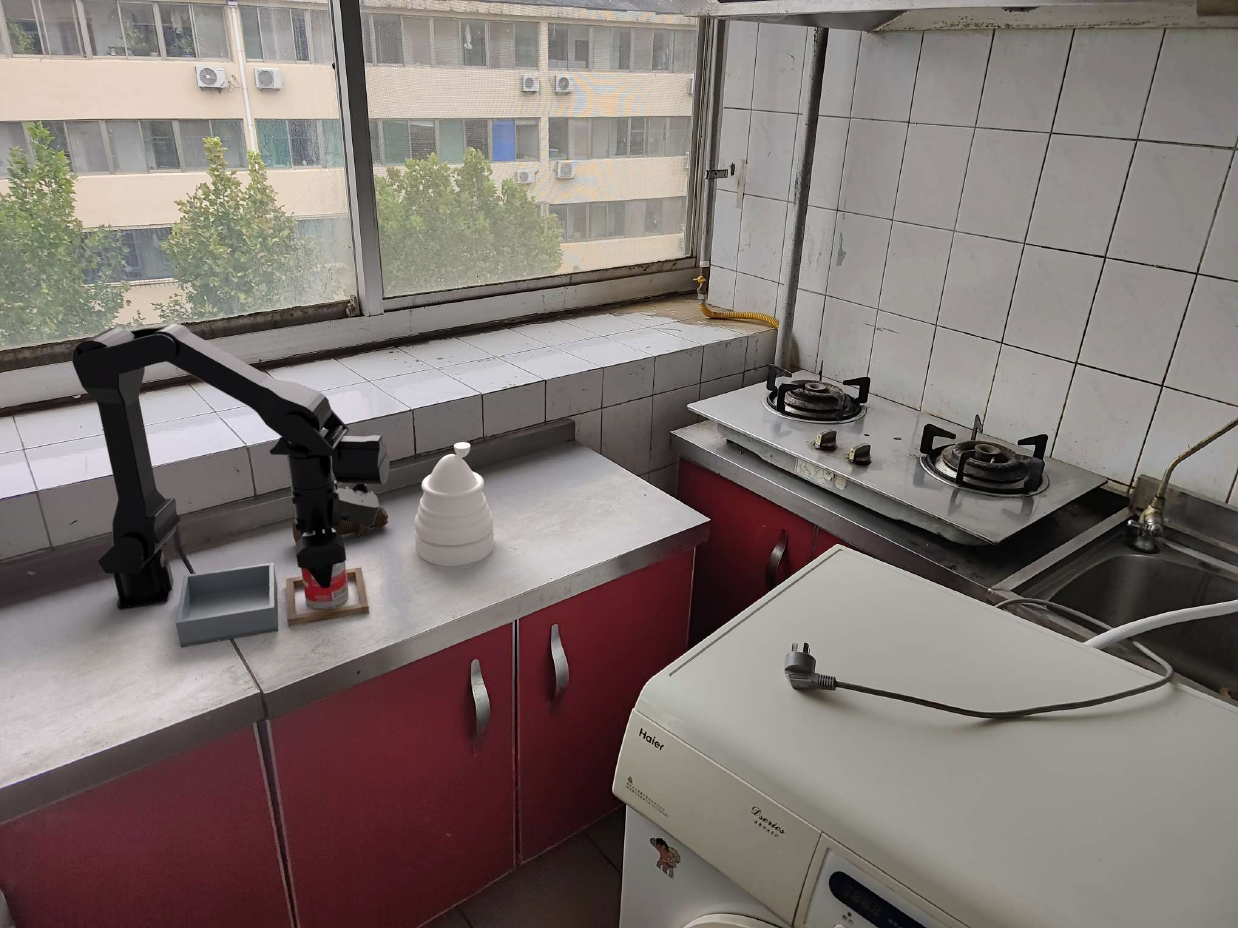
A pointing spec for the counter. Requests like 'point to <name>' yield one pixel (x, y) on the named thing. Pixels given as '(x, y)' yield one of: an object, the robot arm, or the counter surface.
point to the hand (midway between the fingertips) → (324, 575)
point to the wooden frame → (327, 613)
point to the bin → (227, 604)
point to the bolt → (351, 526)
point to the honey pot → (453, 514)
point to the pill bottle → (326, 596)
